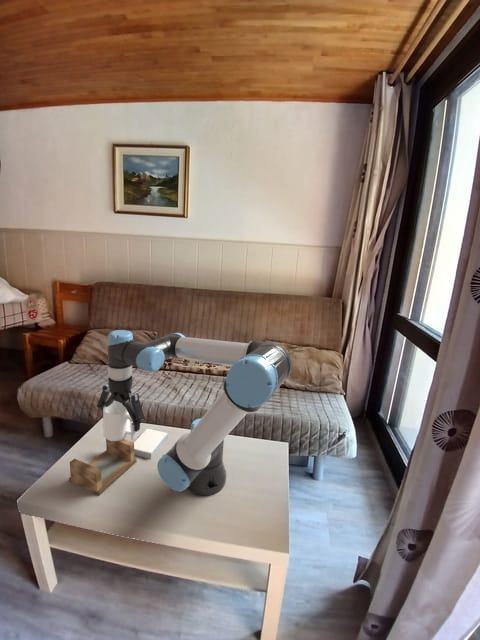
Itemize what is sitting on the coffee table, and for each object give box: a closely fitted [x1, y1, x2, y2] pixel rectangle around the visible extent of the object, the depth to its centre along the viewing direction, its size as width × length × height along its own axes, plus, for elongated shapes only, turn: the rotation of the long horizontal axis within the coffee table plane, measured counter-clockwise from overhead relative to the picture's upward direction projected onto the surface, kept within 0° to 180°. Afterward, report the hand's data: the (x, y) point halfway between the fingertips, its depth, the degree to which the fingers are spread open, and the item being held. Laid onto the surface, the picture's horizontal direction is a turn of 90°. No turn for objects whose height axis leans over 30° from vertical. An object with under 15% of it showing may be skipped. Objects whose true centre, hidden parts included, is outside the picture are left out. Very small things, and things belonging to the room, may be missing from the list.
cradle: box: [68, 438, 137, 496], centre depth 112 cm, size 14×18×8 cm
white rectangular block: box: [134, 428, 169, 460], centre depth 128 cm, size 10×14×3 cm
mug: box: [102, 400, 133, 441], centre depth 107 cm, size 9×12×11 cm
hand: (120, 432), depth 108 cm, fingers closed on mug, 12 cm apart
